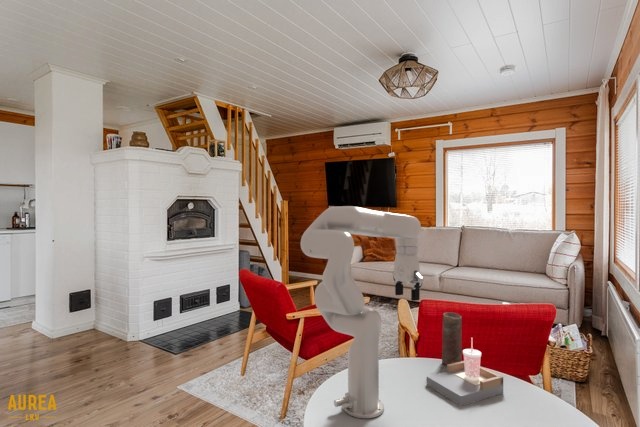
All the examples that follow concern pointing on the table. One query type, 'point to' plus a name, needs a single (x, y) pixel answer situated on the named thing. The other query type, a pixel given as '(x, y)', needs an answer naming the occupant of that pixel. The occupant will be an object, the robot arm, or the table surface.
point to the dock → (466, 384)
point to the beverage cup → (472, 362)
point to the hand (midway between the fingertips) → (407, 297)
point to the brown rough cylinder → (452, 338)
